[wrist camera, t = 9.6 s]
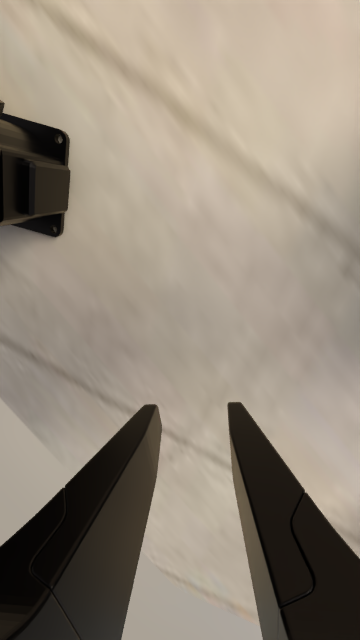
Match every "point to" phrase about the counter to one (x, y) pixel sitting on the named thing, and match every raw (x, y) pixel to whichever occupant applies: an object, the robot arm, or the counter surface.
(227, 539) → the counter surface
